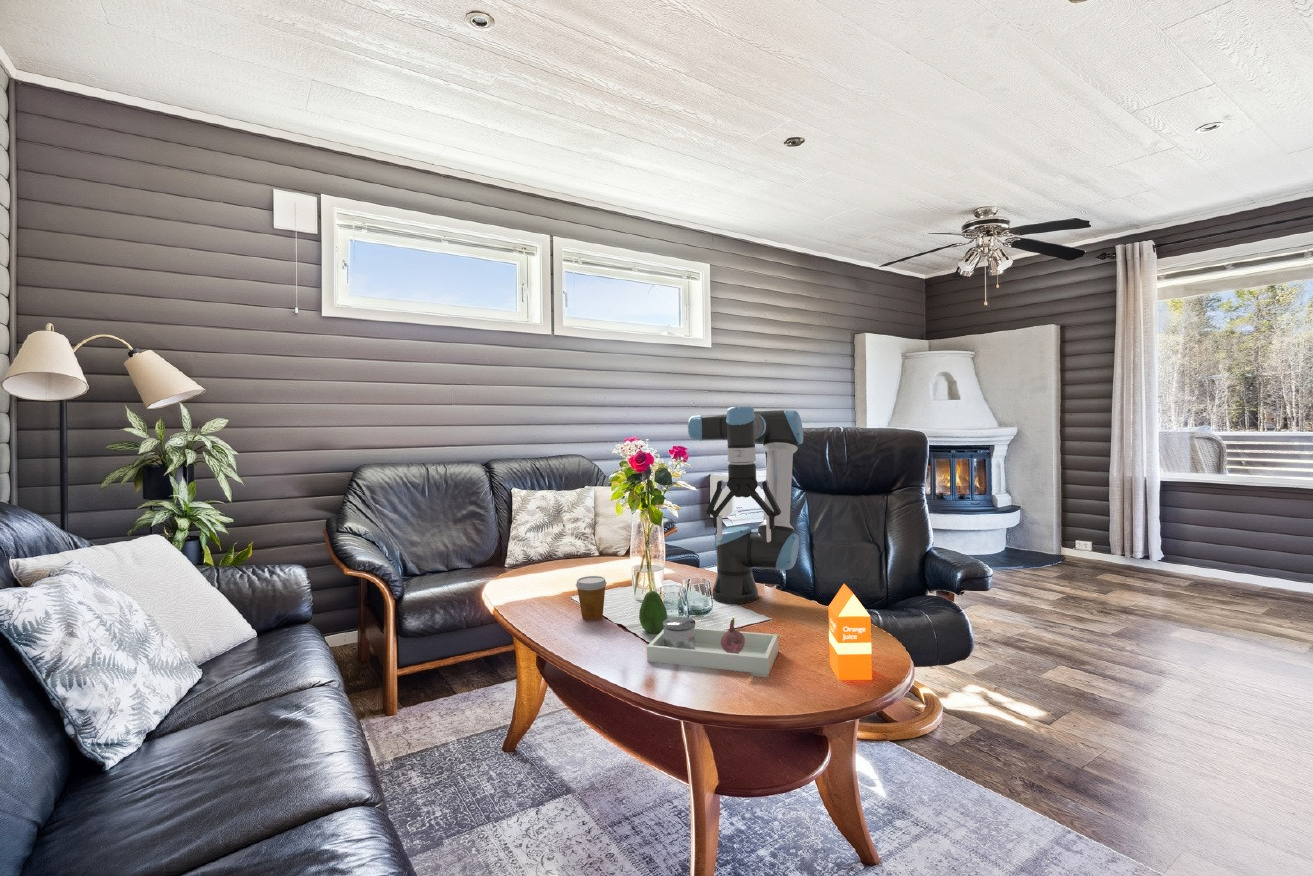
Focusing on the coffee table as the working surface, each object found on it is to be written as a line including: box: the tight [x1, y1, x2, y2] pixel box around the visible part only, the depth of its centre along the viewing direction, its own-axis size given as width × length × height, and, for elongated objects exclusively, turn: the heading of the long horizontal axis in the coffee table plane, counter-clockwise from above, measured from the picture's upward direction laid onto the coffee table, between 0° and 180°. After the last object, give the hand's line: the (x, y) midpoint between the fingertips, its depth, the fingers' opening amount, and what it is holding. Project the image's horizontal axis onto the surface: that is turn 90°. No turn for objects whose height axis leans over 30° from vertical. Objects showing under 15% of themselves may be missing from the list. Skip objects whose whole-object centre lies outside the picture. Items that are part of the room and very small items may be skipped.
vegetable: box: [721, 617, 745, 654], centre depth 155 cm, size 6×6×10 cm
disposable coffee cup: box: [575, 575, 607, 622], centre depth 192 cm, size 10×10×12 cm
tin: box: [663, 616, 696, 649], centre depth 160 cm, size 8×8×8 cm
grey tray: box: [646, 627, 780, 678], centre depth 157 cm, size 16×30×4 cm, turn 70°
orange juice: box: [828, 583, 873, 681], centre depth 146 cm, size 8×9×20 cm
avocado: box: [638, 590, 668, 634], centre depth 176 cm, size 8×8×12 cm
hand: (744, 540), depth 171 cm, fingers open, 13 cm apart
